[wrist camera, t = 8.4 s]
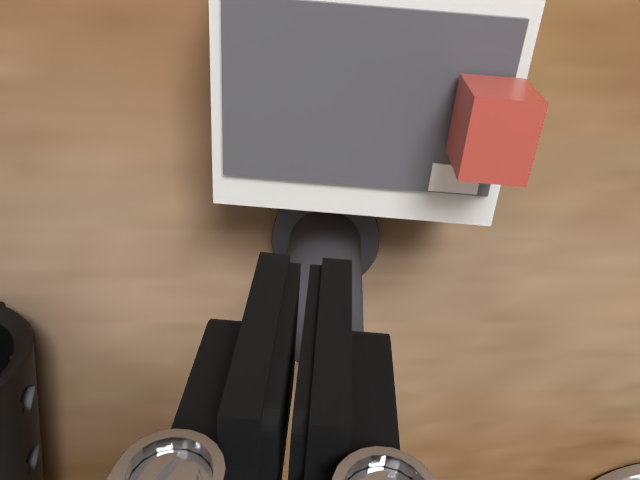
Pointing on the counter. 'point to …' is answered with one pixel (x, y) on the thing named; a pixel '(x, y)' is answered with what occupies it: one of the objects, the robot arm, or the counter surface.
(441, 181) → the switch box
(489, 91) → the slider
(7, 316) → the muzzle brake
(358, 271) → the gray post with base
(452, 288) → the counter surface
